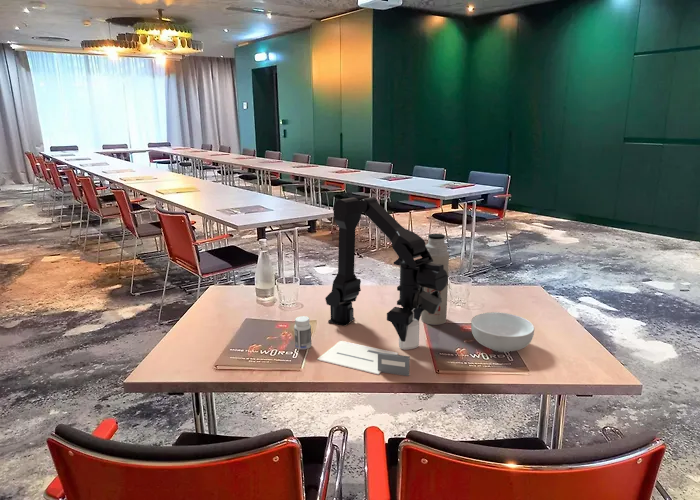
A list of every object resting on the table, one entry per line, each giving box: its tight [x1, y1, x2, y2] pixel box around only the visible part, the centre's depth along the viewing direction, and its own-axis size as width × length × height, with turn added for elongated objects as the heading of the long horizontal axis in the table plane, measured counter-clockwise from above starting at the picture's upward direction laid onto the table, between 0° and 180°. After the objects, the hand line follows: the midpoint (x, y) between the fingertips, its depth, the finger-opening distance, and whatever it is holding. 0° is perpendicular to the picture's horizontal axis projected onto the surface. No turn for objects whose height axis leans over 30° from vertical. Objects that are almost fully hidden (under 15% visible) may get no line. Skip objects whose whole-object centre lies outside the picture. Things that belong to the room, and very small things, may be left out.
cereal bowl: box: [470, 311, 535, 353], centre depth 141 cm, size 17×17×7 cm
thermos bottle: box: [420, 233, 450, 326], centre depth 157 cm, size 8×8×28 cm
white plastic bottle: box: [398, 311, 420, 351], centre depth 140 cm, size 4×6×12 cm
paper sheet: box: [316, 340, 399, 376], centre depth 136 cm, size 18×13×1 cm
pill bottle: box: [293, 315, 312, 350], centre depth 142 cm, size 5×5×8 cm
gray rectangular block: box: [378, 352, 411, 377], centre depth 127 cm, size 8×1×5 cm, turn 72°
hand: (409, 335), depth 141 cm, fingers closed on white plastic bottle, 8 cm apart
